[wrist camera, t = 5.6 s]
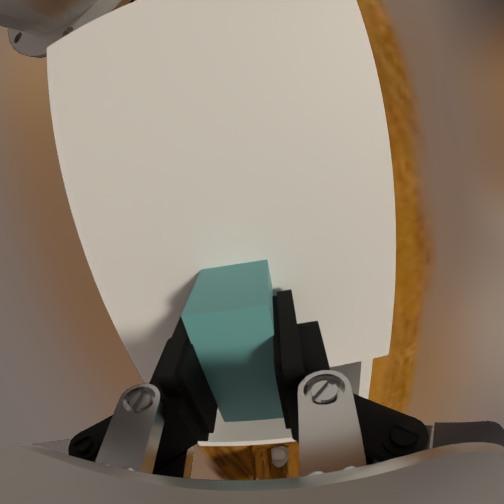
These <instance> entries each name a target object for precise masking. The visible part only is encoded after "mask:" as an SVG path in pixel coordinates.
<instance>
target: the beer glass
mask: <svg viewBox="0 0 504 504" xmlns="http://www.w3.org/2000/svg"><path fill="white" fill-rule="evenodd" d="M250 454H251V460H252V465H253V480H267V479H282V478H293V477H300V472H299V442H297V441H294V442H285V443H275V444H262V445H252V447H251V449H250Z"/></svg>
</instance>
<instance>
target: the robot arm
mask: <svg viewBox="0 0 504 504" xmlns="http://www.w3.org/2000/svg"><path fill="white" fill-rule="evenodd" d="M130 1H131V0H0V26H3V27H7V28H8V36H9V40H10V43H11V44H12V46H13V48H14V49H15V50H16V51H17V52H19V53H20V54H23V55H26V56H31V57H38V58H42V57H47V47H49V46H50V45H52V44H53V43H55V42H56V41H58V40H60V39H61V38H63V37H64V36H66V35H68V34H69V33H71V32H73V31H75V30H76V29H78V28H80V27H82V26H83V25H85V24H87V23H89V22H91V21H93V20H95V19H97V18H99V17H101V16H103V15H105V14H107V13H109V12H111V11H113V10H116V9H118V8H120V7H122V6H125V5H127V4H129V2H130ZM272 298H273V320H274V336H273V352H274V370H275V377H276V382H277V387H278V392H279V397H280V402H281V407H282V412H283V417H284V422H285V427H286V429H291V433H292V439H294V440H295V441H297V442H299V472H300V477H293V478H282V479H267V480H203V479H190V476H191V469H192V461H193V454H194V447H193V446H194V445H195V444H197V443H198V441H208V437H209V433H213V432H214V428H215V422H216V415H217V409H218V405H217V403H216V400H215V398H214V396H213V393H212V391H211V389H210V386H209V384H208V382H207V379H206V377H205V374H204V372H203V369H202V367H201V364H200V362H199V359H198V357H197V354H196V352H195V349H194V346H193V344H191V342H190V339H189V337H188V334H187V331H186V328H185V326H184V323H183V320H182V318H181V316H180V318H179V321H178V323H177V325H176V328H175V330H174V332H173V335H172V337H171V338H169V339H168V340H167V342H166V345H165V347H164V349H163V352H162V354H161V356H160V359H159V361H158V364H157V366H156V368H155V371H154V373H153V376H152V378H151V380H150V383H149V384H146V383H145V384H138V385H135V386H132V387H130V388H129V389H127V390H126V391H125V392H124V393H123V394H122V396H121V397H120V399H119V402H118V404H117V407H116V409H115V411H114V414H113V415H112V416H110V417H108V418H106V419H105V420H103V421H101V422H99V423H97V424H95V425H93V426H92V427H90V428H88V429H86V430H84V431H82V432H80V433H79V434H77V435H76V436H74V438H73V439H72V440H70V439H64V440H58V441H51V442H44V443H35V444H21V443H17V444H5V445H2V446H0V504H504V429H503V428H502V427H501V425H500V424H498V423H496V422H492V421H480V422H449V423H448V422H445V423H444V422H442V423H441V422H435V423H434V425H433V426H431V425H424V424H423V423H422V422H421V421H420V420H418V419H416V418H414V417H411V416H408V415H406V414H403V413H400V412H398V411H395V410H393V409H390V408H388V407H385V406H383V405H380V404H378V403H375V402H373V401H370V400H368V399H366V398H363V397H361V396H359V395H356V394H354V393H353V392H352V388H351V384H350V382H349V380H348V378H347V377H346V376H345V375H343V374H341V373H339V372H337V371H332V370H330V367H329V363H328V359H327V355H326V351H325V347H324V343H323V339H322V335H321V331H320V327H319V324H318V321H312V322H305V323H299V324H297V320H296V314H295V308H294V302H293V296H292V290H291V289H290V290H284V291H277V295H276V296H272ZM182 312H183V311H182Z"/></svg>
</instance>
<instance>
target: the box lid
mask: <svg viewBox="0 0 504 504" xmlns="http://www.w3.org/2000/svg"><path fill="white" fill-rule="evenodd" d="M47 73H48V87H49V98H50V107H51V115H52V122H53V129H54V136H55V142H56V147H57V153H58V158H59V163H60V167H61V172H62V176H63V180H64V185H65V189H66V193H67V197H68V200H69V204H70V208H71V211H72V215H73V218H74V222H75V225H76V228H77V231H78V234H79V238H80V241H81V244H82V246H83V250H84V252H85V255H86V258H87V261H88V264H89V266H90V269H91V272H92V274H93V277H94V279H95V282H96V285H97V287H98V289H99V292H100V294H101V297H102V299H103V301H104V304H105V306H106V308H107V311H108V313H109V315H110V317H111V319H112V321H113V324H114V326H115V328H116V330H117V332H118V334H119V336H120V339H121V340H122V342H123V345H124V346H125V348H126V350H127V352H128V354H129V356H130V358H131V360H132V362H133V364H134V366H135V367H136V369H137V371H138V373H139V375H140V376H141V378H142V380H143V381H144V382H150V380H151V378H152V376H153V373H154V371H155V368H156V366H157V364H158V361H159V359H160V356H161V354H162V352H163V349H164V347H165V345H166V342H167V340H168V339H169V338H171V337H172V335H173V332H174V330H175V328H176V325H177V323H178V321H179V318H180V316H181V318H182V320H183V323H184V326H185V328H186V331H187V334H188V337H189V339H190V342H191V344H193V346H194V349H195V352H196V354H197V357H198V359H199V362H200V364H201V367H202V369H203V372H204V374H205V377H206V379H207V382H208V384H209V386H210V389H211V391H212V393H213V396H214V398H215V400H216V403H217V405H218V409H219V411H220V413H221V416H222V418H223V420H224V422H237V421H254V420H266V419H276V418H284V417H283V412H282V407H281V402H280V397H279V392H278V387H277V382H276V377H275V370H274V352H273V336H274V320H273V298H272V296H276V295H277V291H284V290H290V289H291V290H292V296H293V302H294V308H295V314H296V320H297V324H299V323H305V322H312V321H318V324H319V327H320V331H321V335H322V339H323V343H324V347H325V351H326V355H327V359H328V363H329V367H334V366H339V365H345V364H350V363H354V362H359V361H364V360H368V359H372V358H377V357H381V356H385V355H388V354H389V347H390V338H391V329H392V319H393V307H394V292H395V268H396V222H395V198H394V183H393V171H392V161H391V152H390V143H389V136H388V129H387V122H386V116H385V110H384V104H383V99H382V94H381V88H380V84H379V79H378V74H377V70H376V66H375V62H374V58H373V54H372V50H371V46H370V42H369V39H368V35H367V32H366V29H365V25H364V22H363V19H362V16H361V13H360V10H359V7H358V4H357V1H356V0H137V1H134V2H132V3H129V4H127V5H125V6H122V7H120V8H118V9H116V10H113V11H111V12H109V13H107V14H105V15H103V16H101V17H99V18H97V19H95V20H93V21H91V22H89V23H87V24H85V25H83V26H82V27H80V28H78V29H76V30H75V31H73V32H71V33H69V34H68V35H66V36H64V37H63V38H61V39H60V40H58V41H56V42H55V43H53V44H52V45H50V46H49V47H47ZM182 311H183V312H182Z"/></svg>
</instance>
